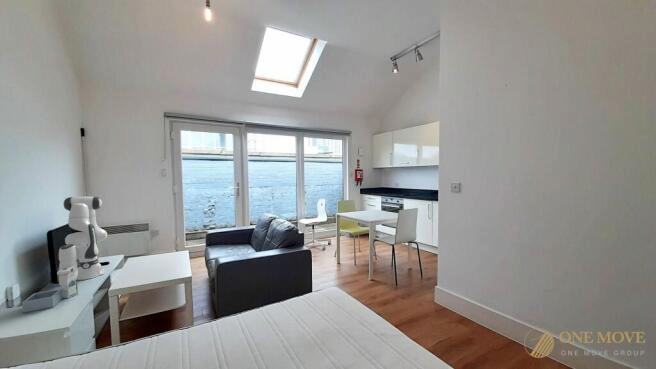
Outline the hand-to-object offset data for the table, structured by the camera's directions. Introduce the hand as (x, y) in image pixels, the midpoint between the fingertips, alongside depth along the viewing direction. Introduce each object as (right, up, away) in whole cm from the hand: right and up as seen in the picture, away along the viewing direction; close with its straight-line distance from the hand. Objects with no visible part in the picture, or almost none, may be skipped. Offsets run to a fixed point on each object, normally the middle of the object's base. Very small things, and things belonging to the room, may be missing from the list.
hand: (70, 287), depth 178 cm
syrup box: (0, -7, 0) cm, 7 cm away
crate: (-5, -7, -12) cm, 15 cm away
